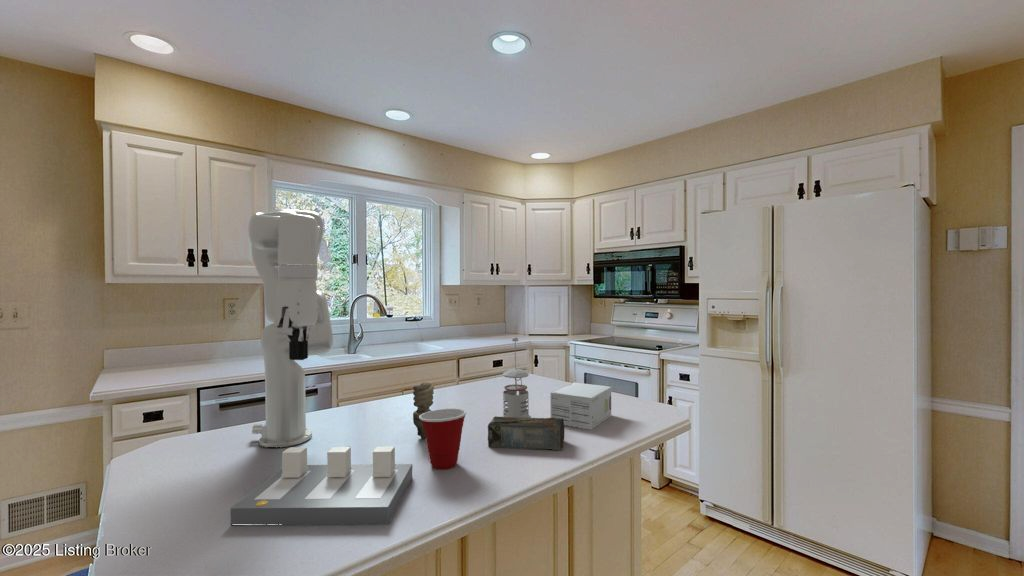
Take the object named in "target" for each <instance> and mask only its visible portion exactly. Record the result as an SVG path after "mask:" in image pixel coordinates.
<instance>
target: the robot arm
mask: <svg viewBox="0 0 1024 576" xmlns="http://www.w3.org/2000/svg"><path fill="white" fill-rule="evenodd" d="M323 222H324V221H323V219H322V216H321V215H320V214H319V213H318V212H316V211H313V210H303V209H301V210H300V209H291V208H290V209H289V208H277V209H274V210H271V211H270V212H269V211H268V212H256V213H255V212H254V213H253V214H252V215H251V216H250V219H249V222H248V226H247V227H248V230H247V231H248V238H249V241H250V244H251V256H252V261H253V264H254V266H255V269H256V272H257V273H258V275H259V277H260V279H261V281H262V284H263V298H264V311H265V316H266V318H267V320H268V321H269V322H270V324H268V325H266V326H265V327H264V328H263V329H262V331H261V333H260V345H261V350H262V355H263V362H264V385H265V389H264V390H265V391H264V392H265V393H264V394H265V398H264V399H265V400H264V401H265V404H264V405H265V423H264V424H261V423H260V424H259V423H257V424H256V423H255V424H254V425H253V426H252V430H251V434H253V435H256V434H257V435H259V434H260V435H261V437H260V438H259V439H258V444H259V445H260V446H261V445H262V446H261V447H263V446H265V447H264V448H267V447H276V448H275V449H278V448H277V447H280V448H285V447H292V446H295V445H299V444H302V443H305V442H307V441H308V440H310V439H311V438H312V436H313V432H312V430H311V429H308V428H306V427H307V426H306V424H307V422H306V421H307V420H306V414H307V413H306V374H305V370H304V369H303V367H302V365H300V364H299V363H298V362H297V361H304V360H306V359H308V358H309V356H310V357H311V356H320V355H325V354H328V353H329V352H331V350H332V348H333V344H334V337H333V329H332V328H333V327H332V323H331V318H330V311H329V310H330V309H329V305H328V300H327V296H326V295H325V294H324V293H323V292H322V291H320V290H318V288H317V281H318V279H319V275H318V257H319V253H320V249H321V246H322V240H323V237H324V223H323Z"/></svg>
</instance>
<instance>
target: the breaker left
mask: <svg viewBox="0 0 1024 576" xmlns="http://www.w3.org/2000/svg"><path fill="white" fill-rule="evenodd" d="M281 457H282V458H281V460H282V461H281V463H282V464H281V466H282V467H281V468H282V474H281V478H294V477H301V476H302V475H303V474H304V473H305V472H306V471H307V470H308V467H307V465H308V447H307V446H295V447H292V446H288V448H287V449H285V450H283V452H281Z"/></svg>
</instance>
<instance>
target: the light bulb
mask: <svg viewBox="0 0 1024 576" xmlns="http://www.w3.org/2000/svg"><path fill="white" fill-rule="evenodd" d="M412 389H413V392H412V395H413V396H414V397H412V398H413V401H414V402H413V406H414V407H416V408H417V409H416V410H415V411H413V413H412V421H413V425H414V426H415V427H416V430H417V436H419V437H420V438H421V439H422V440H423V439H426V436H425V431H424V428H423V425H422V422H421V420H420V419H419V415H421V414H423V413H426V412H429V411H432V410H431V409H430V407H431V406H432V405H433V404H434V401H433V400H434V396H433V395H434V394H435V393H434V392H435V391H434V389H435V386H434V384H433V383H430V382H426V381H425V382H422V383H421V384H420V385H414V386H413V387H412Z"/></svg>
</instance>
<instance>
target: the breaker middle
mask: <svg viewBox="0 0 1024 576" xmlns="http://www.w3.org/2000/svg"><path fill="white" fill-rule="evenodd" d="M326 454H327V458H326V460H327V461H326V462H327V463H326V465H327V466H328V473H327V477H346V475H347V474H348V473H349V472H350V471H351V470H352V467H351V465H352V447H351V446H333V447H331V448H330V449H329V450H328V451H327V452H326Z"/></svg>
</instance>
